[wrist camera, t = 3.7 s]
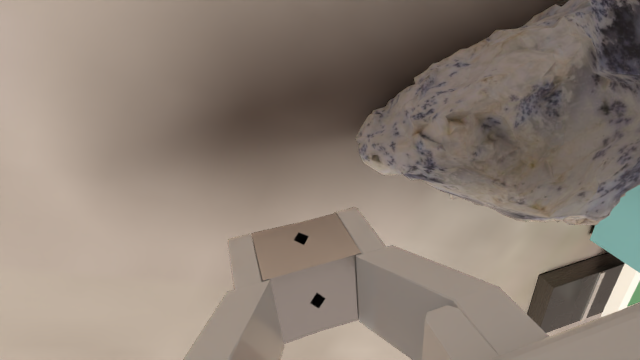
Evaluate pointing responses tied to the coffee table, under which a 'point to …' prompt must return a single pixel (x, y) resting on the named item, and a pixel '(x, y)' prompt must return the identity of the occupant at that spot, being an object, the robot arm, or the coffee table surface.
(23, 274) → the coffee table surface
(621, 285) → the gauge plate
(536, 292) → the gauge frame
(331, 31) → the coffee table surface
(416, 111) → the mineral specimen
